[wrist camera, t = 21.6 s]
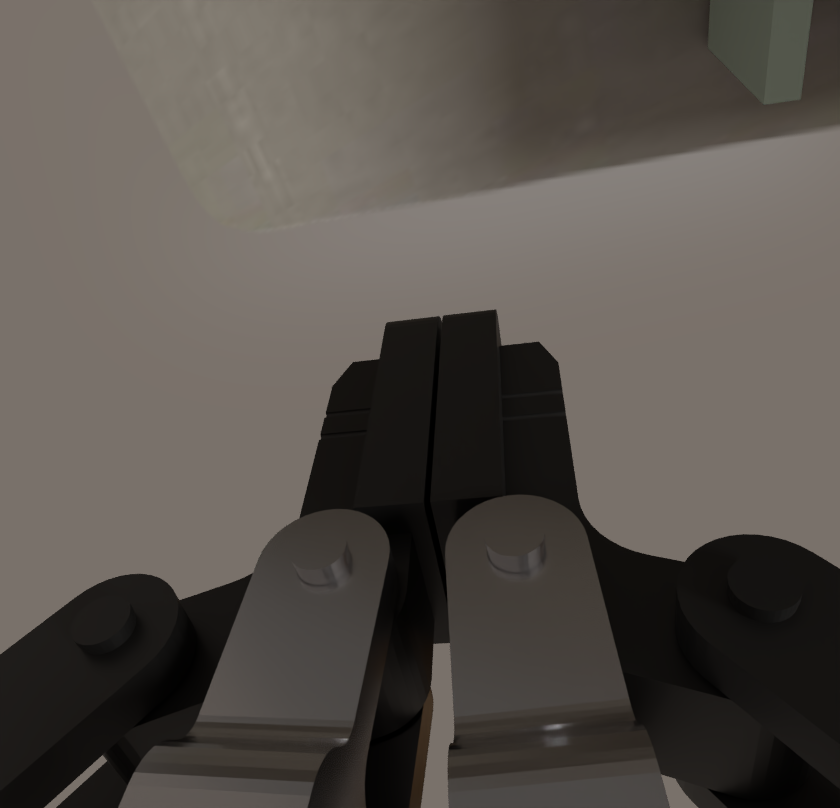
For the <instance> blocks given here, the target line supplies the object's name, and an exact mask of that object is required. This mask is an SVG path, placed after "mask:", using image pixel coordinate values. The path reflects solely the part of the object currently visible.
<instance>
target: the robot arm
mask: <svg viewBox="0 0 840 808" xmlns="http://www.w3.org/2000/svg"><path fill="white" fill-rule="evenodd" d="M326 415H327V417H326V418H324V422H323V426H322V431H321V440H319V443H318V446H317V450H316V454H315V459H314V463H313V466H312V470H311V475H310V479H309V482H308V486H307V490H306V494H305V498H304V503H303V506H302V510H301V514H300V518H299V519H297V520H295V521H293V522H292V523H290V524H289V525H287V526H286V527H284V528H283V529H282V530H280V531H279V532H278V533H277V534H276V535H275V536H274V537H273V538H272V539H271V540H270V541H269V542H268V544H267V545H266V546H265V548H264V549H263V551H262V553H261V555H260V557H259V559H258V562H257V564H256V567H255V569H254V572H253V573H252V574H250V575H248V576H246V577H245V578H242V579H240V580H237V581H235V582H232V583H229V584H226V585H224V586H220V587H217V588H215V589H212V590H209V591H206V592H203V593H200V594H197V595H194V596H191V597H188V598H185V599H182V600H179V599H178V597H177V596H176V594H175V592H174V590H173V589H172V588H171V586H170V585H168V583H166V582H165V581H163V580H162V579H160V578H158V577H155V576H152V575H146V574H130V575H124V576H119V577H115V578H112V579H109V580H106V581H104V582H101V583H99V584H97V585H95V586H93V587H91V588H89V589H88V590H86V591H84V592H83V593H82V594H80V595H79V596H77V597H76V598H74V599H73V600H72V601H70V602H69V603H68V604H66V605H65V606H64V607H62V608H61V609H60V610H58V611H57V612H56V613H55V614H53V615H52V616H50V617H49V618H48V619H46V620H45V621H44V622H43V623H41V624H40V625H39V626H37V627H36V628H35V629H33V630H32V631H31V632H29V633H28V634H27V635H25V636H24V637H23V638H21V639H20V640H19V641H18V642H16V643H15V644H14V645H12V646H11V647H10V648H8V649H7V650H6V651H4V652H3V653H2V654H0V808H44V807H45V806H46V805H47V804H48V803H49V802H51V801H52V800H53V799H54V798H55V797H56V796H57V795H58V794H60V793H61V792H62V791H63V790H64V789H65V788H66V787H67V786H68V785H70V784H71V783H72V782H73V781H74V780H75V779H76V778H77V777H78V776H80V774H82V773H83V772H84V771H85V770H86V769H87V768H88V767H89V766H91V765H92V764H93V763H94V762H95V761H96V760H97V759H98V758H99V757H101V756H102V755H103V756H104V757H105V759H106V760H107V762H106V763H105V764H104V765H102V767H100V768H99V769H98V770H97V771H96V772H95V773H94V774H93V775H92V776H90V777H89V778H88V779H87V780H86V781H85V782H84V783H83V784H82V785H80V786H79V787H78V788H77V789H76V790H75V791H74V792H73V793H72V794H71V795H69V796H68V797H67V798H66V799H65V800H64V801H63V802H62V803H61V804H60V805H58V806H57V807H56V808H421V802H422V793H423V786H424V778H425V770H426V762H427V755H428V746H429V738H430V730H431V723H432V715H433V695H432V690H431V687H430V686H431V680H432V660H433V644H436V643H450V653H451V673H452V690H453V710H454V742H453V743H451V744H450V745H449V751H448V799H449V808H670V806H669V802H668V799H667V795H666V791H665V787H664V784H663V780H662V777H661V774H662V775H665V776H669V777H672V778H675V779H676V780H677V782H678V784H679V785H680V787H681V788H682V790H683V791H684V792H685V794H686V795H687V796H688V797H689V798H690V799H691V801H692V802H693V803H694V804H695V805H696V806H697V807H699V808H840V569H839V568H838V567H836V566H834V565H833V564H831V563H829V562H828V561H826V560H824V559H823V558H821V557H819V556H818V555H816V554H814V553H813V552H811V551H809V550H807V549H805V548H803V547H801V546H799V545H797V544H794V543H791V542H789V541H786V540H782V539H779V538H774V537H770V536H763V535H744V534H743V535H733V536H727V537H724V538H719V539H716V540H714V541H711V542H709V543H707V544H705V545H703V546H702V547H700V548H698V549H697V550H695V551H694V552H693V553H692V554H691V555H690V556H689V557H688V558H687V560H686V561H685V562H682V561H677V560H672V559H667V558H661V557H656V556H651V555H646V554H642V553H639V552H635V551H632V550H629V549H626V548H624V547H621V546H619V545H617V544H616V543H614V542H612V541H610V540H609V539H607V538H606V537H604V536H603V535H601V534H600V533H599V532H598V531H597V530H596V529H595V528H593V526H592V525H591V524H590V523H589V521H588V520H587V519H586V517H585V516H584V514H583V511H582V509H581V507H580V503H579V499H578V493H577V486H576V480H575V472H574V466H573V459H572V452H571V446H570V439H569V432H568V425H567V419H566V413H565V405H564V398H563V393H562V386H561V378H560V371H559V365H558V362H557V361H556V360H555V359H554V357H553V356H552V355H551V354H550V353H549V352H548V351H547V350H546V349H545V348H544V347H543V346H542V345H541V344H540V342H532V343H523V344H513V345H505V346H501V338H500V330H499V323H498V316H497V311H496V310H487V311H479V312H471V313H461V314H453V315H444V316H443V320H442V321H441V318H440V317H439V316H437V317H429V318H420V319H411V320H403V321H395V322H388V323H386V326H385V331H384V336H383V342H382V348H381V354H380V359H378V360H369V361H359V362H353V363H352V364H351V365H350V366H349V368H348V369H347V370H346V371H345V372H344V373H343V375H342V376H341V377H340V378H339V379H338V381H337V382H336V383H335V384H334V385H333V387H332V391H331V395H330V399H329V403H328V407H327V411H326Z"/></svg>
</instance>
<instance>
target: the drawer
mask: <svg viewBox="0 0 840 808" xmlns="http://www.w3.org/2000/svg"><path fill="white" fill-rule="evenodd" d="M812 8H813V0H710V13H709V31H708V49H709V50H710V51H711V52H712V53H713V54H714V55H715V56H716V57H717V58H718V59H719V60H720V61H721V62H722V63H723V64H724V65H725V66H726V67H727V68H728V69H729V70H730V71H731V72H732V73H733V74H734V75H735V76H736V77H737V78H738V79H739V81H740V82H741V83H742V84H743V85H744V86H745V87H746V88H747V89H748V90H749V91H750V92H751V93H752V94H753V95H754V96H755V97H756V98H757V99H758V100H759V101H760V102H761V103H762V104H763V105H768V104H774V103H781V102H788V101H794V100H801V94H802V86H803V78H804V71H805V63H806V55H807V47H808V39H809V32H810V24H811V16H812Z"/></svg>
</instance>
